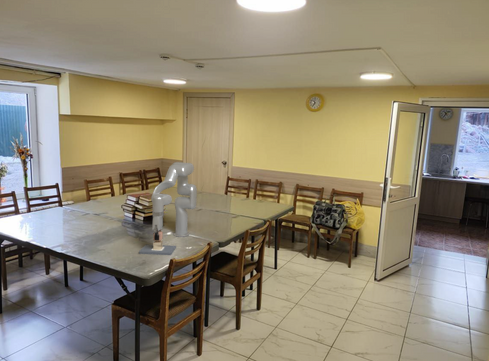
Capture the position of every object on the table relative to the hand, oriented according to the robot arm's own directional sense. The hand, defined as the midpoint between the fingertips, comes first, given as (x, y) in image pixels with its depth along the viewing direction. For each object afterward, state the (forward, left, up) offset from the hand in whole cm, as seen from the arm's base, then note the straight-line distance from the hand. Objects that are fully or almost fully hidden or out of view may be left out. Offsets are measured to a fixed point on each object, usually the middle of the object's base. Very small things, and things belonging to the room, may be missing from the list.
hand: (158, 238), depth 235 cm
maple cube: (0, 0, -7) cm, 7 cm away
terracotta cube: (0, 0, -1) cm, 1 cm away
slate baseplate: (0, 0, -9) cm, 9 cm away
